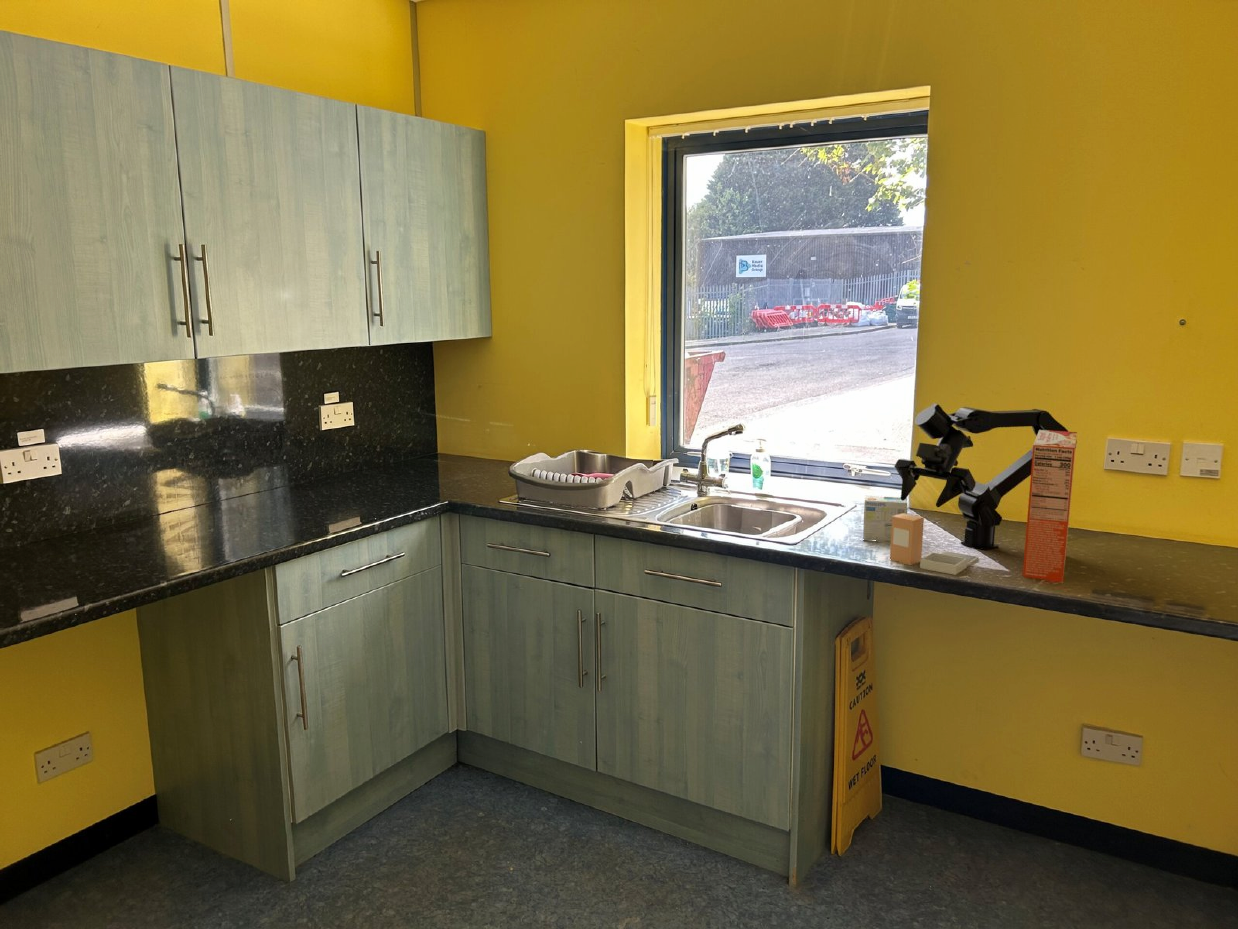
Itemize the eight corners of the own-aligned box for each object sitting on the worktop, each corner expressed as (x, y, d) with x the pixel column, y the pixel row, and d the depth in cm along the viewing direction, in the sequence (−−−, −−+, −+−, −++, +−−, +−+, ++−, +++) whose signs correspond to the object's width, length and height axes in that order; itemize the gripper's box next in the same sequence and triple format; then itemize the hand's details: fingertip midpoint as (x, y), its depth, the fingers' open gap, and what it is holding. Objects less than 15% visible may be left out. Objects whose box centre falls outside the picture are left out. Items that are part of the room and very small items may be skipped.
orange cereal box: (1029, 551, 226) (1039, 429, 220) (1065, 555, 222) (1076, 432, 216) (1022, 578, 206) (1033, 444, 200) (1062, 583, 202) (1074, 447, 196)
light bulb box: (905, 537, 239) (908, 496, 237) (906, 544, 233) (908, 502, 230) (862, 534, 242) (864, 494, 240) (862, 541, 235) (864, 500, 233)
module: (900, 557, 221) (903, 513, 219) (921, 563, 217) (923, 517, 215) (889, 561, 218) (891, 516, 216) (909, 567, 214) (912, 520, 212)
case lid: (944, 554, 223) (944, 549, 223) (978, 560, 218) (978, 556, 218) (931, 562, 217) (932, 557, 217) (966, 568, 212) (966, 563, 212)
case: (931, 562, 217) (932, 552, 217) (966, 569, 212) (967, 558, 212) (919, 569, 212) (920, 559, 211) (955, 576, 207) (956, 565, 206)
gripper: (900, 425, 225) (872, 476, 220) (972, 434, 211) (944, 489, 206) (916, 453, 231) (889, 503, 227) (987, 464, 218) (960, 517, 213)
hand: (919, 502), depth 218 cm, fingers open, 9 cm apart
